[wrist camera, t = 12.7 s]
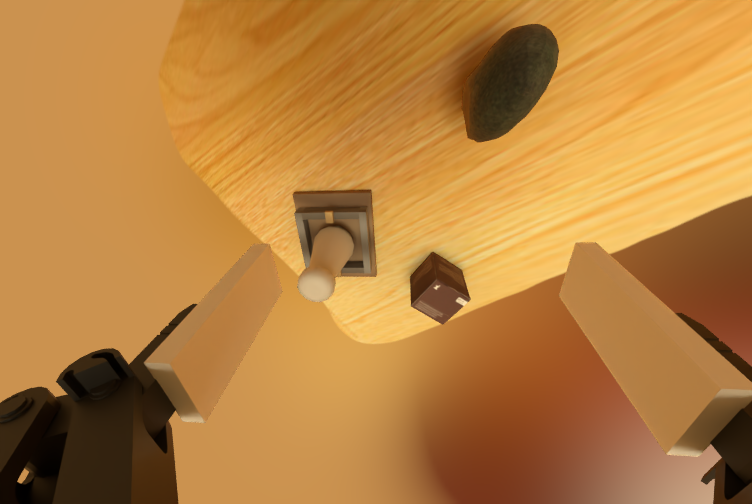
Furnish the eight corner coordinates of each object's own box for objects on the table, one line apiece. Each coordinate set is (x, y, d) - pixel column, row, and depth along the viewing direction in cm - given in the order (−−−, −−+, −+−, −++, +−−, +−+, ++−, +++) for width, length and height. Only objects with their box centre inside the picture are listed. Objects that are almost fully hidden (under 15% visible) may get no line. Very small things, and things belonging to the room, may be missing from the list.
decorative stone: (485, 23, 31) (539, -13, 18) (533, 54, 32) (615, 40, 19) (435, 114, 36) (450, 135, 23) (478, 138, 37) (514, 172, 24)
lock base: (295, 191, 43) (286, 201, 40) (371, 190, 42) (368, 199, 39) (311, 272, 50) (304, 285, 47) (376, 273, 49) (374, 286, 46)
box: (409, 276, 48) (409, 306, 42) (432, 250, 46) (436, 278, 39) (438, 294, 50) (442, 326, 43) (463, 270, 47) (471, 300, 41)
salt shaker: (352, 258, 46) (334, 315, 35) (316, 249, 46) (286, 304, 35) (359, 225, 43) (342, 277, 32) (321, 215, 43) (290, 264, 32)
